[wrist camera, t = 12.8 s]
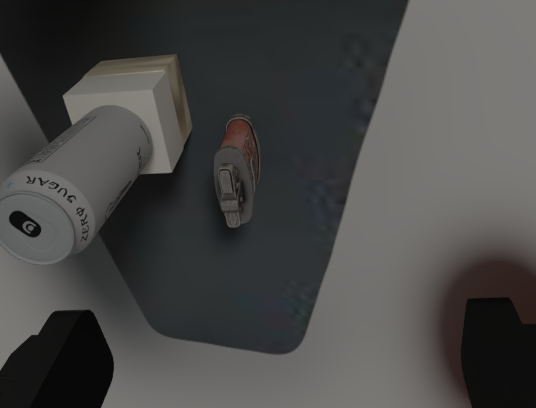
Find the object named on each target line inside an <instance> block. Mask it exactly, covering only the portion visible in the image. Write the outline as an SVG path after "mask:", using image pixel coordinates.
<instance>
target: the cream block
mask: <svg viewBox="0 0 536 408" xmlns="http://www.w3.org/2000/svg"><path fill="white" fill-rule="evenodd" d="M63 99H64V102H65V105H66V108H67V110H68V113H69V116H70V119H71V122H72V125H74V124H75V123H76V122H77V121H79V120H80V119H81V118H82V117H84V116H85V115H86V114H87V113H89V112H90V111H92V110H93V109H95V108H97V107H100V106H104V105H116V106H120V107H124V108H126V109H128V110H130V111H132V112H133V113H135V114H136V115H138V116H139V117H140V118H141V119H142V120H143V122H144V123H145V124H146V126H147V127H148V129H149V131H150V134H151V137H152V143H153V149H152V154H151V157H150V160H149V161H148V163H147V164H146V165H145V167H144V168H143V170H142V171H141V172H140V174H154V173H172V171H173V169H174V167H175V165H176V163H177V161H178V159H179V157H180V155H181V153H182V151H183V149H184V148H183V143H182V139H181V134H180V129H179V125H178V120H177V116H176V111H175V106H174V102H173V97H172V92H171V88H170V83H169V78H168V74H167V71H158V72H144V73H131V74H117V75H104V76H90V77H84V78H83V79H81V80H80V81H79V82H78V83H77V84H76V85H75V86H73V87H72V88H71V89H70V90H69V91H68V92H66V93H65V94H64V95H63Z"/></svg>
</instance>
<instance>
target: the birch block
mask: <svg viewBox="0 0 536 408" xmlns="http://www.w3.org/2000/svg"><path fill="white" fill-rule="evenodd" d="M158 71H167V74H168V78H169V83H170V88H171V92H172V97H173V102H174V106H175V111H176V116H177V120H178V125H179V129H180V134H181V139H182V143H183V146H184V144H185V142H186V140H187V138H188V136H189V134H190V132H191V130H192V123H191V119H190V114H189V109H188V105H187V100H186V95H185V90H184V86H183V81H182V76H181V72H180V67H179V62H178V58H177V54H174V55H163V56H152V57H141V58H130V59H119V60H108V61H100V62H99V63H98V64H97V65H96V66H95V67H93V68H92V69H91V70H90V71H89V72H88V73H86V74H85V75H84V76H83V78H84V77H90V76H104V75H117V74H131V73H144V72H158Z"/></svg>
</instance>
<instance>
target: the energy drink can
mask: <svg viewBox="0 0 536 408" xmlns="http://www.w3.org/2000/svg"><path fill="white" fill-rule="evenodd" d="M152 149H153V143H152V137H151V134H150V131H149V129H148V127H147V126H146V124H145V123H144V122H143V120H142V119H141V118H140V117H139V116H138V115H136V114H135V113H133V112H132V111H130V110H128V109H126V108H124V107H120V106H116V105H104V106H100V107H97V108H95V109H93V110H92V111H90V112H89V113H87V114H86V115H85V116H84V117H82V118H81V119H80V120H79V121H77V122H76V123H75V124H74V125H72V126H71V127H70V128H69V129H67V130H66V131H65V132H64V133H62V134H61V135H60V136H59V137H57V138H56V139H55V140H54V141H52V142H51V143H50V144H49V145H47V146H46V147H45V148H44V149H42V150H41V151H40V152H38V153H37V154H36V155H35V156H33V157H32V158H31V159H30V160H28V161H27V162H26V163H25V164H23V165H22V166H21V167H20V168H18V169H17V170H16V171H15V172H13V173H12V174H11V175H10V176H8V177H7V178H6V179H5V180H4V181H3V182H2V183H1V185H0V245H1V246H2V247H3V248H4V249H5V250H6V251H7V252H8V253H10V254H11V255H12V256H14V257H16V258H18V259H19V260H22V261H24V262H27V263H30V264H35V265H50V264H54V263H58V262H59V261H61V260H63V259H64V258H65V257H68V256H72V255H75V254H77V253H79V252H81V251H82V250H84V249H85V248H86V247H87V246H88V245H89V244H90V242H91V241H92V239H93V238H94V237H95V235H96V234H97V232H98V231H99V230H100V228H101V227H102V225H103V224H104V223H105V221H106V220H107V219H108V217H109V216H110V214H111V213H112V212H113V210H114V209H115V207H116V206H117V205H118V203H119V202H120V200H121V199H122V198H123V196H124V195H125V193H126V192H127V191H128V189H129V188H130V186H131V185H132V184H133V182H134V181H135V179H136V178H137V177H138V175H139V174H140V172H141V171H142V170H143V168H144V167H145V165H146V164H147V163H148V161H149V160H150V157H151V154H152Z"/></svg>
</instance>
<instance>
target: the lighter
mask: <svg viewBox="0 0 536 408" xmlns="http://www.w3.org/2000/svg"><path fill="white" fill-rule="evenodd" d="M260 168H261V154H260V146H259V141H258V136H257V133H256V130H255V127H254V124H253V121H252V120H251V118H250V117H248V116H246V115H244V114H236V115H233V116H232V117H230V119H229V120H228V122H227V126H226V134H225V136H224V139H223V142H222V145H221V147H220V148H219V149H218V150H217V152H216V155H215V158H214V180H215V189H216V193H217V197H218V201H219V204H220V207H221V210H222V212H223V214H224V216H225V218H226V220H227V225H228V226H229V227H238V226H239V225H240V224H244V223H247V222H248V221H249V220H250V219H251V217H252V212H253V201H254V192H255V188H256V184H257V183H258V181H259V177H260Z"/></svg>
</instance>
